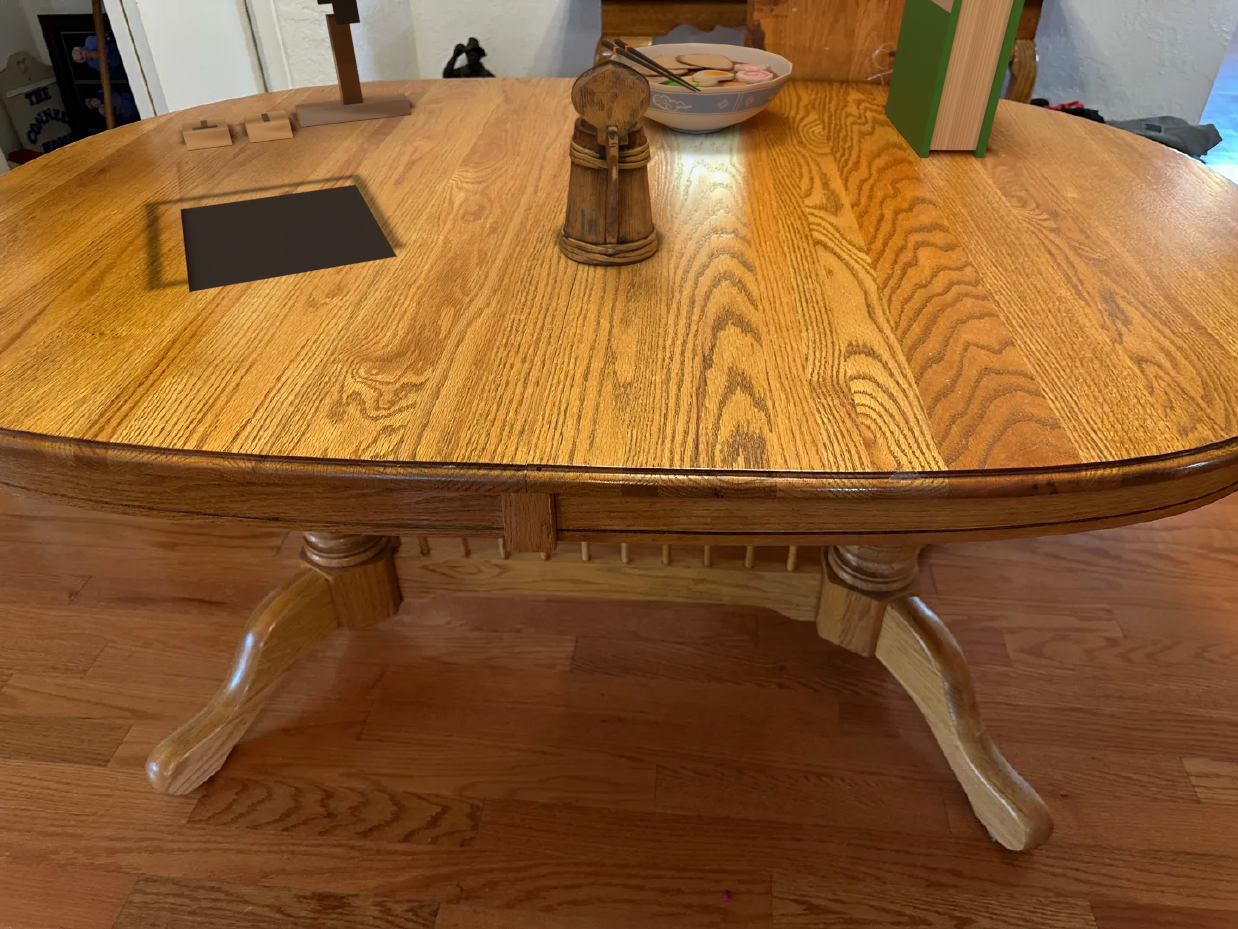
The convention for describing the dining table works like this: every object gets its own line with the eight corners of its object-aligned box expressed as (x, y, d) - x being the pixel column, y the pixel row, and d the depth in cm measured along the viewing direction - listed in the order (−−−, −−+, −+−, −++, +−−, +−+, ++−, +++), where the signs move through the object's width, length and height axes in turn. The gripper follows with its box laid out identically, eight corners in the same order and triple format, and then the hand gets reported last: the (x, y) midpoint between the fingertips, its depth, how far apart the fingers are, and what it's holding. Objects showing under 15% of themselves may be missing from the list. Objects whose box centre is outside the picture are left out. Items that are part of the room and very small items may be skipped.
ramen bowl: (826, 143, 103) (837, 70, 98) (652, 167, 96) (654, 90, 91) (730, 92, 121) (735, 28, 116) (578, 108, 114) (576, 42, 109)
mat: (153, 214, 85) (153, 213, 85) (356, 185, 92) (355, 184, 92) (157, 298, 71) (156, 296, 71) (396, 257, 77) (396, 255, 77)
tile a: (186, 138, 104) (180, 120, 103) (229, 133, 106) (224, 115, 104) (187, 150, 101) (182, 132, 99) (232, 145, 102) (227, 126, 101)
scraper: (298, 120, 110) (275, 17, 103) (406, 108, 114) (391, 8, 107) (301, 127, 108) (278, 21, 100) (411, 114, 112) (396, 12, 105)
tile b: (246, 131, 106) (241, 113, 105) (288, 126, 108) (284, 109, 107) (250, 142, 103) (245, 124, 102) (293, 137, 104) (289, 119, 103)
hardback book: (984, 157, 99) (1047, -89, 84) (919, 157, 99) (972, -89, 84) (940, 113, 113) (989, -104, 98) (884, 113, 113) (924, -105, 98)
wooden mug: (557, 291, 72) (547, 60, 61) (561, 228, 82) (552, 21, 71) (663, 290, 72) (672, 59, 61) (653, 226, 83) (659, 20, 72)
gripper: (353, -212, 83) (390, 29, 96) (314, -209, 101) (350, -7, 114) (272, -212, 80) (322, 35, 93) (247, -209, 98) (292, -2, 111)
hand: (338, 13), depth 104 cm, fingers open, 13 cm apart
